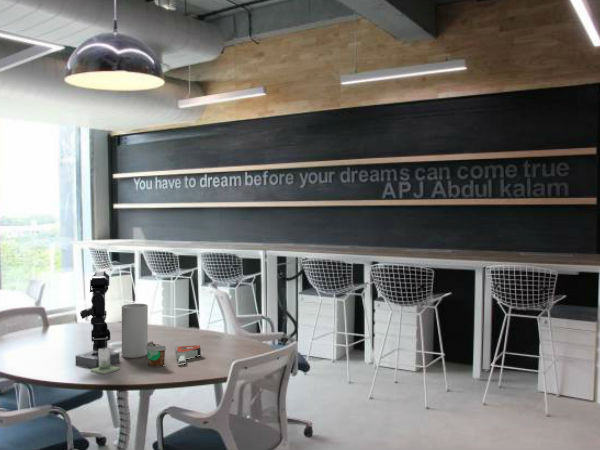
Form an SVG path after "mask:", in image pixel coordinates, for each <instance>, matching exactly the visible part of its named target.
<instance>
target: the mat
mask: <svg viewBox="0 0 600 450" xmlns="http://www.w3.org/2000/svg"><path fill="white" fill-rule="evenodd" d="M120 369H121V367H120V366H114V365H110V369H106V370H100V369H99V367H97V368H92V369H91V368H90V372H92V373H97V374H101V375H106V374H110V373H113V372H116V371H119V370H120Z"/></svg>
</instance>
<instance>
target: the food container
mask: <svg viewBox="0 0 600 450" xmlns="http://www.w3.org/2000/svg"><path fill="white" fill-rule="evenodd" d="M146 349H147V355H146V356H147V363H148V364H147V365H148V367H150V366H163V365H164V366H165V357H166V349H167V348H166V345H161V344H156V343H154V341H153V340H152V341H148V343H147V345H146ZM164 366H163V367H164Z"/></svg>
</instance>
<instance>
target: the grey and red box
mask: <svg viewBox="0 0 600 450" xmlns="http://www.w3.org/2000/svg"><path fill="white" fill-rule="evenodd" d="M174 351H175V359H176V360H177V359H179V360H177V363H176V364H177V365H178V364H181V363H186V364H187V360H186V358H190V357H193V358H195V357H194V356H198V355H202V354H201V345H183V346H182V345H181V346H178V345H177V346H175V347H174Z"/></svg>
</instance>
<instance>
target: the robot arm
mask: <svg viewBox="0 0 600 450" xmlns="http://www.w3.org/2000/svg"><path fill="white" fill-rule="evenodd" d="M109 287H110V275H109V274H107V271H106V270H104V269H99V270H98V269H97V270H95V273H94V274H93V275H92V277H91V278H90V281H89V293H92V295H91V296H92V297H91V300H90V301H91V306H90V307H88V308H84V309H82V310H80V311H79V315H80V317H81V319H82V320H83V319H86V318H87V317H91V318H90V325H92V329H91V334H90V335H91V342H92V343H93V344H92V351H94V350H98V349H99V348H103V347H108V341H111V331H110V329H109V328H108V324H107V322H106V319H107V315H108V314H107V313H108V312H107V310H106V295H107V292H108V291H109Z"/></svg>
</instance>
